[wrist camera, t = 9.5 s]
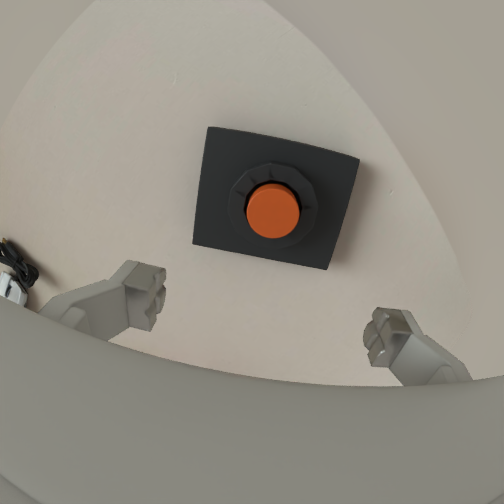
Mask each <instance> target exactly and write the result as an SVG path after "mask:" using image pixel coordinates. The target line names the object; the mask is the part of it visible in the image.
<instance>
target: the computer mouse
mask: <svg viewBox="0 0 504 504" xmlns="http://www.w3.org/2000/svg"><path fill="white" fill-rule="evenodd" d="M1 251H2V252H3V254H4V256H3V255H2V253H1ZM0 262H1V263H3V264H5V265H8V266H10V267H12V268H13V270H14V271H15V272H16V275H15V276H14V278H13V277H12V276H11V275H9V274H8V273H6V272H4V271H3V272H2V274H1V277H0V295H1V296H3V297H5V298H7V299H9V300H11V301H13V302H15V303H17V304H19V305H21V306H23V307H25V308H26V300H27V293H26V292H25V290H24V289H23V287H22V286H21V285H20V283H19V282H18V277H19V279H20V281H21V283H22V284H23V286H24V287H25V288H27V289H28V288H30V287H32V286H33V285H34V283H35V281H36V280H37V279H38V277H39V272H38V270H37V269H36V268H35V267H33V266H32V265H29V264H27V263H25V262H24V261H23V258H22V257H21V256H20V254H19V253H18V252H17V251H16V250H15V248H14V247H13V246H12V245H11V244H10V243H9V242H7V241H6V240H5V239H4V238H3V240H2V243H1V242H0ZM26 274H27V275H26Z"/></svg>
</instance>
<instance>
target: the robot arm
mask: <svg viewBox="0 0 504 504" xmlns="http://www.w3.org/2000/svg"><path fill="white" fill-rule="evenodd" d="M165 280H166V270H165V268H161V267H157V266H153V265H149V264H145V263H140V262H137V261H132V260H127V261H126V262H125V263H124V264H123V265H122V266H121V267H120V268H119V269H118V270H117V271H116V272H115V274H114V275H113V276H112V277H111V278H110V279H109V280H102V281H99V282H96V283H93V284H90V285H87V286H84V287H81V288H78V289H75V290H72V291H69V292H66V293H64V294H61V295H58V296H55V297H53V298H52V299H51V300H50V301H49V302H48V303H47V304H46V305H45V306H44V307H43V308H42V309H41V310H40V311H39V312H38V313H35V312H33V311H31V310H29V309H27V308H25V307H23V306H21V305H19V304H17V303H15V302H13V301H11V300H9V299H7V298H5V297H3V296H1V295H0V504H504V375H503V376H497V377H492V378H486V379H479V380H473V379H472V378H471V376H470V374H469V372H468V370H467V368H466V367H465V365H464V364H463V363H462V362H461V361H460V360H458V359H457V358H456V357H454V356H453V355H452V354H451V353H449V352H448V351H447V350H446V349H444V348H443V347H442V346H440V345H439V344H438V343H436V342H435V341H434V340H432V339H431V338H430V337H428V336H427V335H424V334H423V333H422V331H421V329H420V327H419V326H418V324H417V322H416V321H415V319H414V317H413V316H412V314H411V312H410V311H408V310H399V309H389V308H380V307H377V308H376V309H375V310H374V312H373V314H372V319H373V320H372V321H371V322H369V323H368V324H367V326H366V328H365V330H364V334H363V342H364V346H365V347H366V348H367V349H368V350H369V352H368V354H367V355H368V358H369V361H370V364H371V366H372V367H387V368H389V369H390V371H391V372H392V373H393V374H394V375H395V376H396V377H397V379H398V380H399V381H400V382H401V383H402V384H403V386H392V387H368V386H338V385H322V384H309V383H299V382H289V381H280V380H272V379H265V378H258V377H251V376H245V375H239V374H233V373H228V372H222V371H217V370H212V369H207V368H203V367H198V366H193V365H189V364H185V363H181V362H176V361H172V360H169V359H165V358H161V357H157V356H154V355H150V354H146V353H143V352H140V351H136V350H133V349H130V348H126V347H123V346H120V345H117V344H114V343H111V342H108V340H110V339H111V338H113V337H114V336H116V335H118V334H119V333H121V332H123V331H124V330H126V329H128V328H129V327H133V328H137V329H141V330H145V331H149V332H151V330H152V328H153V326H154V324H155V322H156V320H157V318H156V314H158V313H161V310H162V308H163V306H164V302H165V296H166V288H165V287H164V285H163V283H164V282H165Z"/></svg>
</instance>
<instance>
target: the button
mask: <svg viewBox="0 0 504 504" xmlns="http://www.w3.org/2000/svg"><path fill="white" fill-rule="evenodd" d="M247 219H248V222H249V224H250V226H251V228H252V229H253V230H254V231H255V232H256V233H258V234H259V235H261V236H263V237H267V238H280V237H283V236H285V235H287V234H289V233H290V232H291V231H292V230H293V229H294V228H295V226H296V225H297V223H298V220H299V207H298V204H297V201H296V198H295V196H294V195H293V193H292V192H291V191H290V190H289V189H288V188H286V187H285V186H282V185H279V184H266V185H263V186H261V187H259V188H258V189H257V190H256V191H255V192H254V193H253V194H252V196H251V198H250V200H249V204H248V207H247Z"/></svg>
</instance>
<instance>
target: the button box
mask: <svg viewBox="0 0 504 504" xmlns="http://www.w3.org/2000/svg"><path fill="white" fill-rule="evenodd" d="M359 162H360V159H357V158H355V157H352V156H349V155H346V154H342V153H339V152H335V151H332V150H328V149H324V148H320V147H316V146H312V145H308V144H304V143H300V142H295V141H291V140H286V139H282V138H277V137H272V136H267V135H262V134H256V133H251V132H245V131H239V130H233V129H226V128H219V127H208V129H207V135H206V141H205V147H204V154H203V161H202V168H201V175H200V182H199V189H198V197H197V205H196V214H195V223H194V232H193V242H192V244H194V245H199V246H204V247H209V248H215V249H220V250H225V251H230V252H235V253H240V254H245V255H251V256H256V257H261V258H266V259H271V260H276V261H282V262H287V263H292V264H297V265H302V266H308V267H313V268H318V269H323V270H327V269H328V266H329V263H330V260H331V257H332V254H333V251H334V248H335V245H336V242H337V238H338V235H339V232H340V229H341V226H342V223H343V219H344V216H345V213H346V209H347V206H348V202H349V199H350V195H351V192H352V188H353V185H354V181H355V177H356V174H357V170H358V166H359ZM266 184H279V185H282V186H285V187H286V188H288V189H289V190H290V191H291V192H292V193H293V195H294V196H295V198H296V201H297V204H298V207H299V220H298V223H297V225H296V226H295V228H294V229H293V230H292V231H291V232H290V233H289V234H287V235H285V236H283V237H280V238H267V237H263V236H261V235H259V234H258V233H256V232H255V231H254V230H253V229H252V228H251V226H250V224H249V222H248V219H247V207H248V204H249V200H250V198H251V196H252V194H253V193H254V192H255V191H256V190H257V189H258V188H259V187H261V186H263V185H266Z"/></svg>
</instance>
